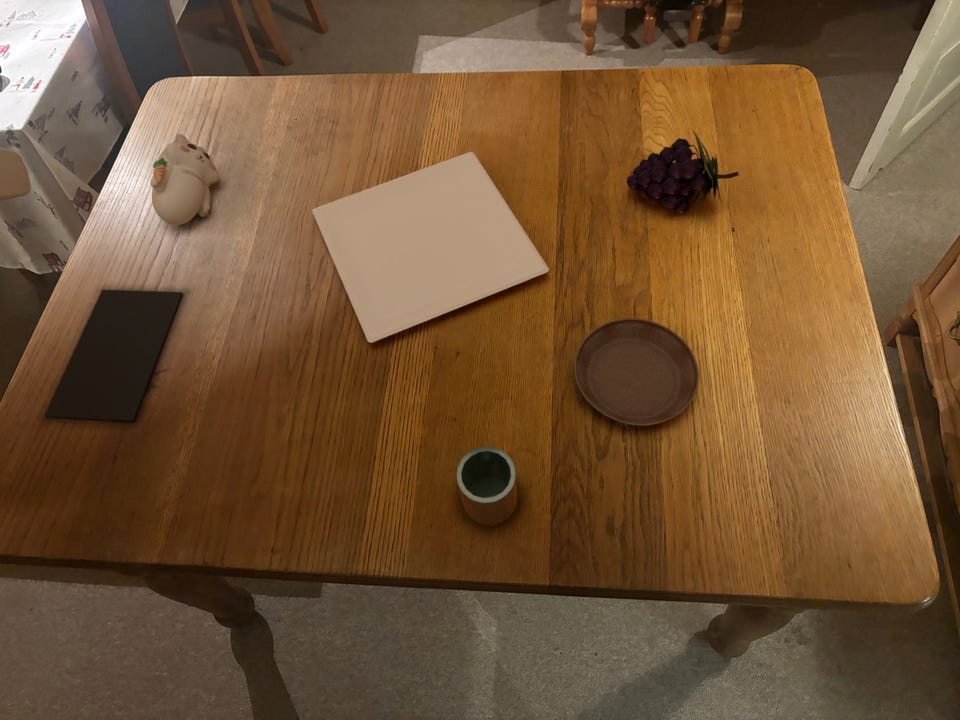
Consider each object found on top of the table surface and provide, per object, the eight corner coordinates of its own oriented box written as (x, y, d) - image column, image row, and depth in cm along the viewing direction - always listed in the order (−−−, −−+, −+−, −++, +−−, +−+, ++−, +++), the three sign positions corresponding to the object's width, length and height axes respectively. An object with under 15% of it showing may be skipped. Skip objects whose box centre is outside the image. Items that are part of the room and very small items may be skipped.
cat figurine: (155, 193, 91) (174, 110, 97) (123, 213, 95) (144, 132, 101) (215, 226, 98) (230, 147, 104) (183, 244, 102) (200, 167, 108)
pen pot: (493, 537, 73) (489, 515, 66) (451, 502, 75) (444, 478, 68) (528, 495, 75) (528, 469, 68) (486, 463, 78) (482, 435, 71)
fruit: (631, 193, 102) (735, 176, 97) (632, 237, 95) (743, 221, 90) (622, 134, 94) (734, 113, 90) (622, 177, 88) (742, 157, 83)
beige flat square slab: (371, 351, 86) (368, 342, 85) (314, 217, 99) (310, 208, 97) (549, 279, 91) (550, 269, 89) (473, 160, 103) (472, 149, 101)
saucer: (718, 376, 81) (724, 365, 79) (644, 458, 77) (647, 449, 74) (623, 310, 87) (626, 298, 85) (548, 382, 82) (549, 371, 80)
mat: (134, 422, 83) (132, 420, 83) (46, 417, 84) (43, 416, 84) (183, 294, 93) (182, 291, 93) (104, 291, 94) (102, 289, 94)
